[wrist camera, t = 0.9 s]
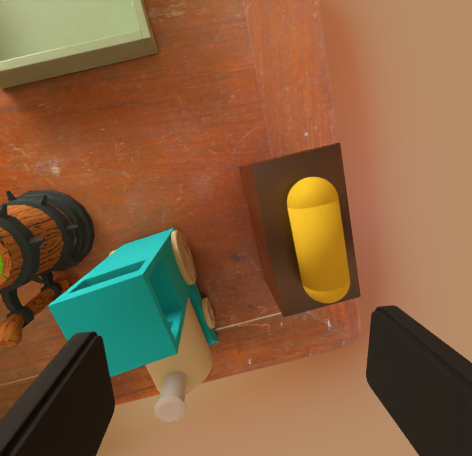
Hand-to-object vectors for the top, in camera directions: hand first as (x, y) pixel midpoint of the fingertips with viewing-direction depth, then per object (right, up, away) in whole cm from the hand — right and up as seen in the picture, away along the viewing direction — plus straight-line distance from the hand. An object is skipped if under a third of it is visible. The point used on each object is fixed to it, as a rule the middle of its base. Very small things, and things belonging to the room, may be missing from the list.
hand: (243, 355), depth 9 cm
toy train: (-8, -4, +24) cm, 26 cm away
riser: (+6, +6, +23) cm, 25 cm away
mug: (-22, +3, +22) cm, 31 cm away
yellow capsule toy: (+7, +4, +15) cm, 16 cm away
